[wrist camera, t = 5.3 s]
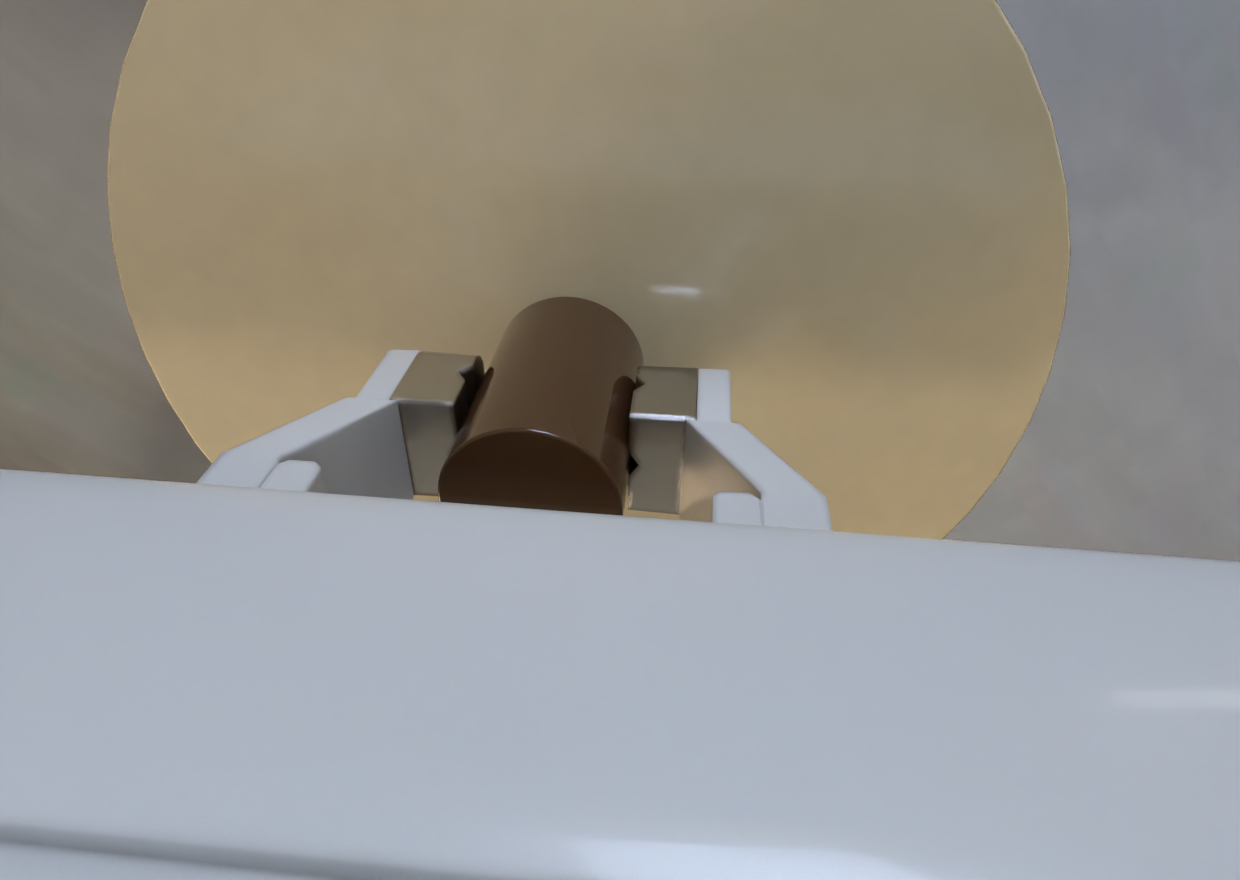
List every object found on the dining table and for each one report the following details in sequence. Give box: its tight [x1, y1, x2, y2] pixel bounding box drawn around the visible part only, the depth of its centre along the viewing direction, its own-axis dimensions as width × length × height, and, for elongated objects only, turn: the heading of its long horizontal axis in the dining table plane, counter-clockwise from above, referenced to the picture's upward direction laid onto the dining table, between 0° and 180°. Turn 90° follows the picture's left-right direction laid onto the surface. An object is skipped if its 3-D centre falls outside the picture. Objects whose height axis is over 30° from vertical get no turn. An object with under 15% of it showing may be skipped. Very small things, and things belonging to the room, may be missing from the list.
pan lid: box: [107, 0, 1071, 539], centre depth 13 cm, size 16×16×5 cm
